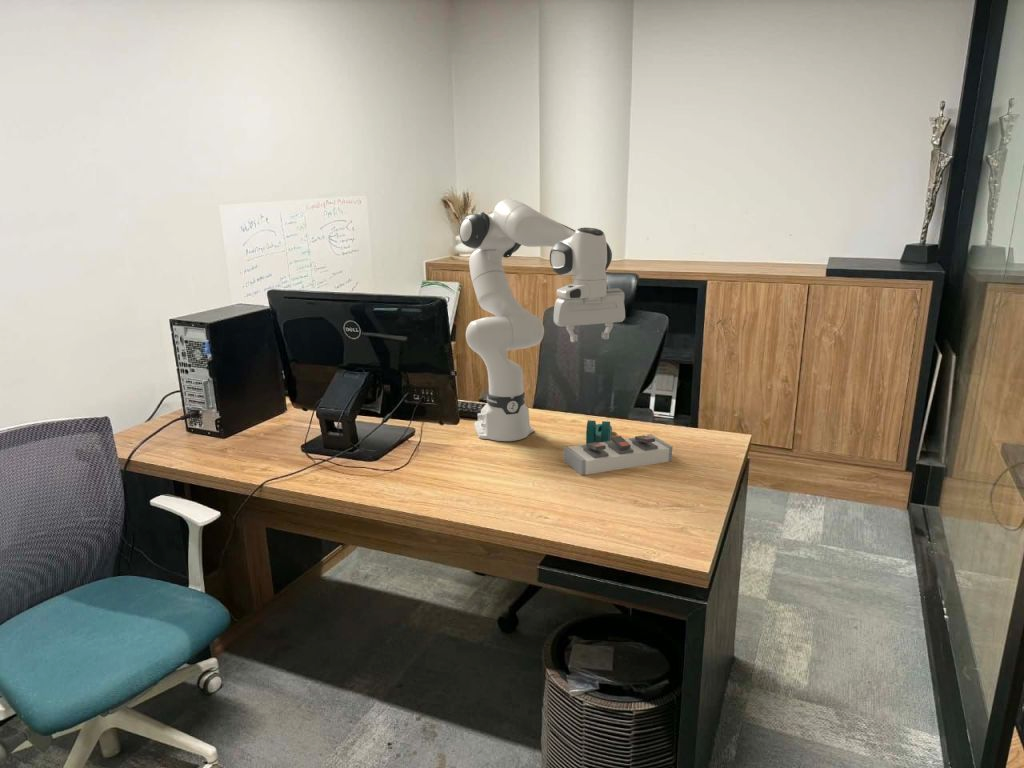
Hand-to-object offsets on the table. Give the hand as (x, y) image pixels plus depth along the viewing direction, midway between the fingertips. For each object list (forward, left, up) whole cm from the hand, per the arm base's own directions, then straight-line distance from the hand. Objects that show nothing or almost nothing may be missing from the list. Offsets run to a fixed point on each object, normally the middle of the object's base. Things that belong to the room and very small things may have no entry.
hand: (589, 340), depth 191 cm
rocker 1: (+2, +2, -31) cm, 31 cm away
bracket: (-19, +14, -37) cm, 44 cm away
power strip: (0, +10, -37) cm, 38 cm away
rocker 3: (+2, +18, -31) cm, 35 cm away
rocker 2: (+2, +10, -31) cm, 32 cm away
